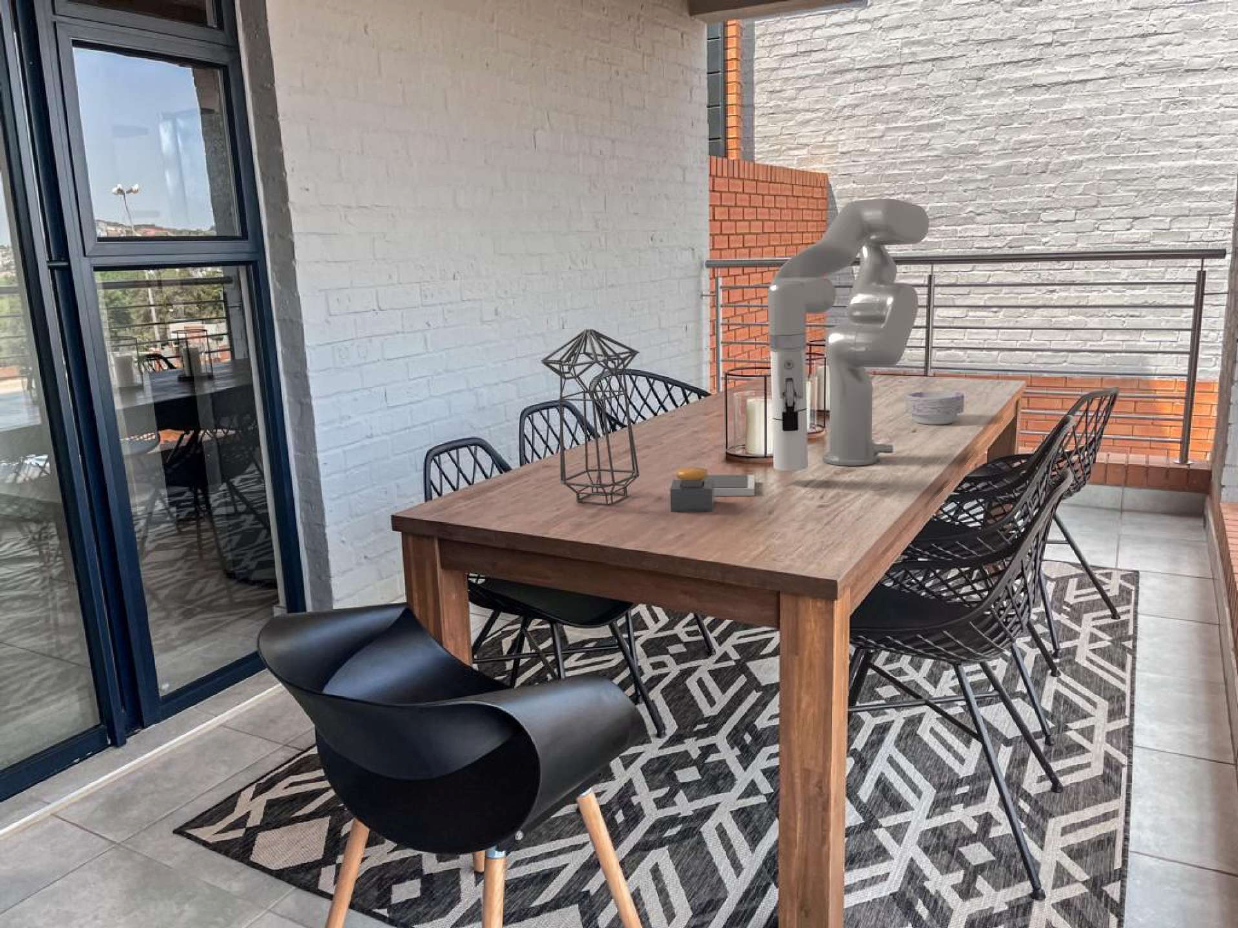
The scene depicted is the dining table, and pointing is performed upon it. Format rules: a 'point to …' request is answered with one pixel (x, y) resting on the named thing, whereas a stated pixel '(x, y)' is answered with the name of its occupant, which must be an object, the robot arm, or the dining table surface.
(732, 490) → the pallet
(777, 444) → the cylindrical container
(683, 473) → the button
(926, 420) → the paper bowls
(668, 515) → the dining table surface
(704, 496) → the button housing
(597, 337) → the geometric lantern
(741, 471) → the dining table surface
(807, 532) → the dining table surface
